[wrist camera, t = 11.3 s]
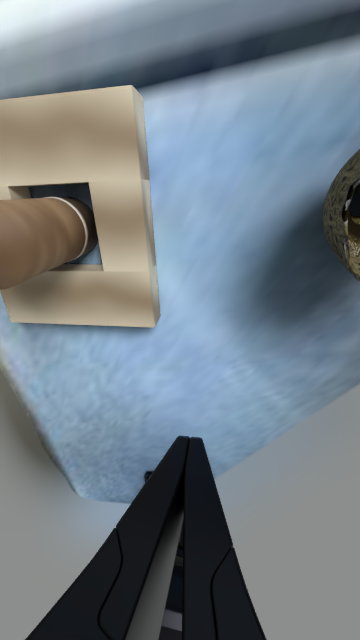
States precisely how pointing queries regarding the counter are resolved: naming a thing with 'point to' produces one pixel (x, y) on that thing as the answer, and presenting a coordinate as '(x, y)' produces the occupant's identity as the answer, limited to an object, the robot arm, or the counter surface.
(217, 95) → the counter surface
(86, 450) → the counter surface
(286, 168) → the counter surface
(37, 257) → the peg
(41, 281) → the board
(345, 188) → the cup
